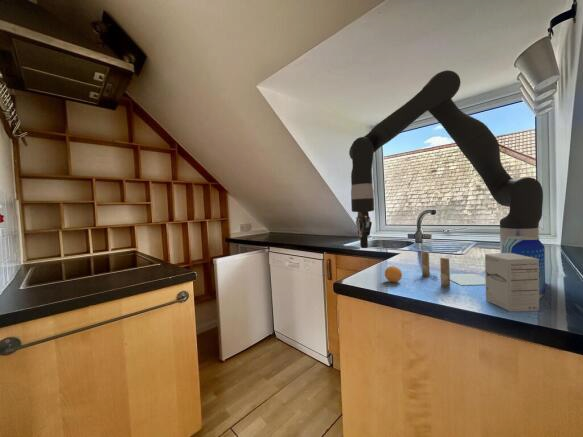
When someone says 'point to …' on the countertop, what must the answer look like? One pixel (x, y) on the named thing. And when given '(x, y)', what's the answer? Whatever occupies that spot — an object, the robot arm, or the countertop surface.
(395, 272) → the ball
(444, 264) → the near post
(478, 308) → the countertop surface
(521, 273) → the supplement box
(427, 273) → the far post
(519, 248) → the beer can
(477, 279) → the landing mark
